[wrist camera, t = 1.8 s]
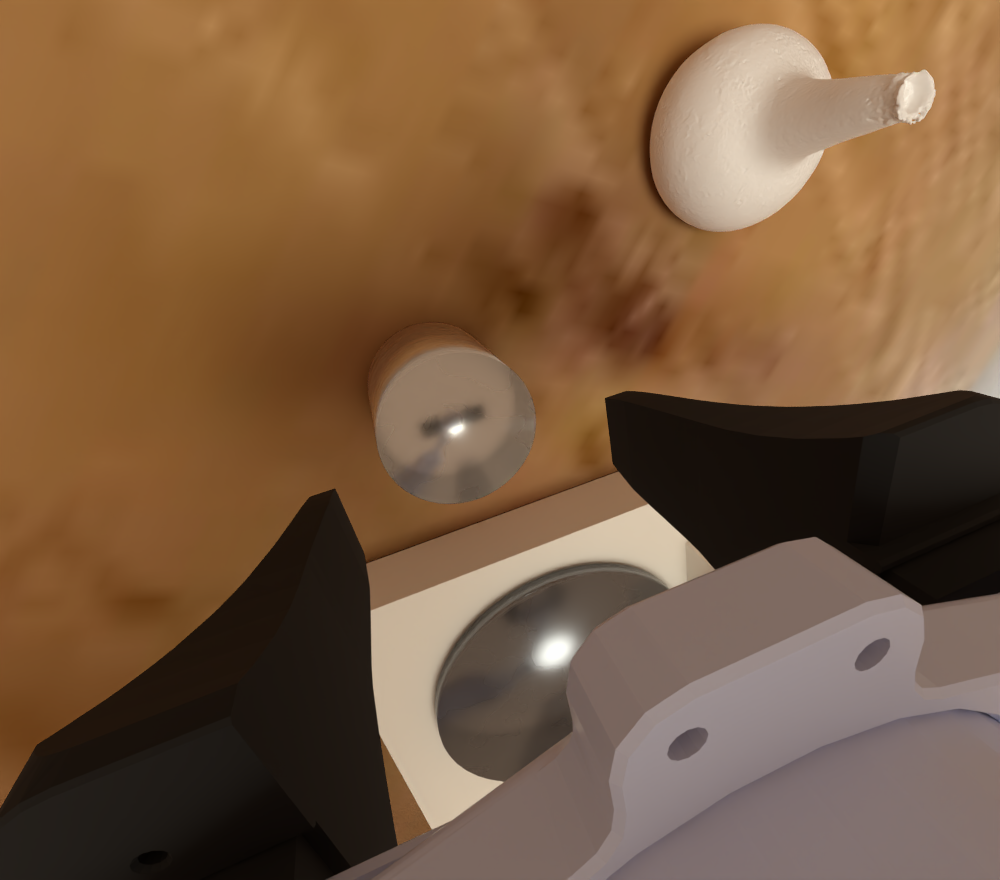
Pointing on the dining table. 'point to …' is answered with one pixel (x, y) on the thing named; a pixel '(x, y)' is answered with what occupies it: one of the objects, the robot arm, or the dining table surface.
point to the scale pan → (526, 666)
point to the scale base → (473, 590)
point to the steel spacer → (448, 414)
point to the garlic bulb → (763, 123)
